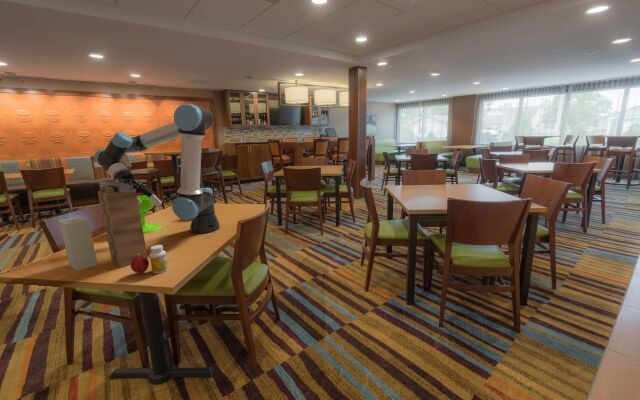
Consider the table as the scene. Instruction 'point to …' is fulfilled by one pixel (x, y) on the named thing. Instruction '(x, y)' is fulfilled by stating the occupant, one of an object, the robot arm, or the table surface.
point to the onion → (139, 264)
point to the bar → (116, 185)
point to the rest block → (78, 243)
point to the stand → (122, 225)
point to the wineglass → (144, 207)
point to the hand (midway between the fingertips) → (150, 204)
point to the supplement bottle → (158, 259)
